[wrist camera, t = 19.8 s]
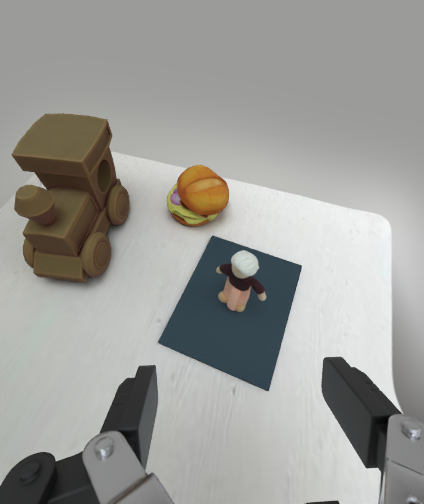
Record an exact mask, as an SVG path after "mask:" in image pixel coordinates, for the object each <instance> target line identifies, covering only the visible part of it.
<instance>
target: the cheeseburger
mask: <svg viewBox="0 0 424 504" xmlns="http://www.w3.org/2000/svg"><path fill="white" fill-rule="evenodd" d="M228 199H229V189H228V186H227V183H226V182H225V181H224V180H223V179H222V178H221V177H219V176H218V175H217V174H216V173H214V172H213V171H212V170H211V169H209V168H208V167H205V166H202V165H196V166H192V167H190V168H188V169H186V170H185V171H184V172H183V173H182V174H181V175H180V176H179V178H178V181H177V184H175V185H174V187H173V188H172V189H171V191H170V193H169V194H168V196H167V205H168V208H169V210H170V212H171V213H172V215H173V216H174V218H175V219H176V220H178V221H179V222H180V223H182V224H185V225H189V226H199V225H203V224H205V223H207V222H209V221H211V220H213V219H214V218H215V217H216V216H217V215H218V213H219V212H221V211H223V209H224V208H225V207H226V206H227V204H228Z"/></svg>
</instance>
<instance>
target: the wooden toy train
mask: <svg viewBox="0 0 424 504" xmlns="http://www.w3.org/2000/svg"><path fill="white" fill-rule="evenodd" d="M111 138H112V133H111V130H110V127H109V124H108V121H107V120H106V119H101V118H97V117H91V116H84V115H73V114H45V115H44V116H42V117H41V118H40V119H39V120H38V121H36V122H35V123H34V124H33V125H32V127H31V128H30V129H29V130H28V131H27V133H26V134H25V135H24V136H23V137H22V138H21V140H20V141H19V143H18V144H17V146H16V148H15V150H14V151H13V153H12V156H13V158H14V159H15V160H16V162H17V163H18V164H19V166H20V167H21V169H22V170H23V171H29V172H35V174H36V175H37V177H38V178H39V179H40V181H41V182H42V184H43V185H44V186H45V187H46V189H47V190H46V189H43V188H40V187H37V186H34V185H25V186H23V187H21V188H19V190H18V191H17V192H16V198H15V208H14V209H15V211H16V212H17V213H18V215H20V216H23V217H26V218H28V219H29V221H28V223H27V225H26V227H25V229H24V231H23V233H22V234H23V235H24V237H25V238H26V239H25V241H24V245H23V255H24V258H25V261H26V262H27V264H28V265H29V266H30V267H32V268H34V274H35V275H37V276H38V277H46V278H53V279H61V280H69V281H76V282H84V283H85V281H86V279H87V277H88V275H89V276H91V277H97V276H99V275H101V274H102V273H103V272H104V271H105V270H106V268H107V266H108V264H109V261H110V256H111V246H110V242H109V239H108V238H107V236H106V232H107V230H108V228H109V226H110V223H113V224H115V225H120V224H122V223H123V222H124V221H125V220H126V218H127V216H128V213H129V195H128V192H127V190H126V189H125V188H124V187H123V186H122V185H121V182H120V180H119V179H116V172H115V167H114V162H113V158H112V155H111V151H110V148H109V145H110V141H111Z"/></svg>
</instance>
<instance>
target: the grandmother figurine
mask: <svg viewBox="0 0 424 504" xmlns="http://www.w3.org/2000/svg"><path fill="white" fill-rule="evenodd" d="M231 263H232V264H222V265H220V266H219V267H217V269H216V271H217V273H219V274H221V273H224V274H225V275H227V276H228V277H227V280H226V284H225V287H224V290H223V291H221V292H220V293H219V294H218V298H219V300H220V301H221V302H223V303H227V306H228V308H229V309H230V310H233V311H234V310H235V311H237V312H242V311H243V310H244V309H245V306H246V303H247V300H248V298H249V295H250V289H251V286H252V288H253V290H254V291H255V292H256V293H257V295H258V297H259V299H260V300H261V301H264V300H265V299H266V295H265V288H264V286H263V285H262V284H261V283H260V282H259V281H258V280H257V279H256V278H254V277H253V276H252V275H254V274H255V273H256V272H257V270H258V269H259V265H258V260H257V258H256V257H255V256H254V255H253V254H252V253H250V252H248V251H245V250H242V251H239V252H237V253H236V254H234V255H233V257H232V259H231Z"/></svg>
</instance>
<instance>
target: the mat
mask: <svg viewBox="0 0 424 504" xmlns="http://www.w3.org/2000/svg"><path fill="white" fill-rule="evenodd" d="M242 250H245V251H248V252H250V253H252V254H253V255H254V256H255V257H256V258H257V260H258V265H259V269H258V270H257V272H256V273H255V274H254V275H252V276H253V277H254V278H256V279H257V280H258V281H259V282H260V283H261V284H262V285H263V286H264V288H265V295H266V299H265V300H264V301H261V300H260V299H259V297H258V295H257V293H256V292H255V291H254V290H253V288H252V286H251V289H250V295H249V298H248V300H247V303H246V306H245V309H244V310H243V311H242V312H237V311H235V310H234V311H233V310H230V309H229V308H228V306H227V303H223V302H221V301H220V300H219V298H218V294H219V293H220V292H221V291H223V290H224V287H225V284H226V280H227V277H228V276H227V275H225V274H224V273H221V274H219V273H217V271H216V269H217V267H219V266H220V265H222V264H232V263H231V259H232V257H233V255H234V254H236V253H237V252H239V251H242ZM301 268H302V266H301V265H298V264H295V263H292V262H289V261H286V260H283V259H280V258H277V257H274V256H272V255H269V254H266V253H263V252H260V251H257V250H254V249H251V248H248V247H245V246H242V245H239V244H236V243H233V242H230V241H227V240H224V239H221V238H218V237H215V236H212V237H211V239H210V241H209V243H208V245H207V247H206V249H205V251H204V253H203V255H202V257H201V259H200V261H199V263H198V265H197V267H196V269H195V271H194V273H193V275H192V277H191V279H190V280H189V282H188V284H187V286H186V288H185V290H184V292H183V294H182V296H181V298H180V300H179V302H178V304H177V306H176V308H175V310H174V312H173V314H172V316H171V318H170V320H169V322H168V324H167V326H166V328H165V330H164V332H163V334H162V336H161V338H160V339H159V341H158V342H159V343H160V344H162V345H164V346H166V347H169V348H171V349H173V350H176V351H178V352H180V353H182V354H185V355H187V356H189V357H191V358H194V359H196V360H198V361H201V362H203V363H205V364H207V365H210V366H212V367H214V368H216V369H219V370H221V371H223V372H226V373H228V374H230V375H232V376H235V377H237V378H239V379H242V380H244V381H246V382H248V383H251V384H253V385H255V386H257V387H260V388H262V389H264V390H267V391H269V388H270V384H271V380H272V376H273V373H274V369H275V365H276V361H277V358H278V354H279V350H280V347H281V343H282V339H283V335H284V332H285V328H286V324H287V320H288V317H289V313H290V309H291V305H292V302H293V298H294V294H295V290H296V287H297V283H298V279H299V275H300V272H301Z"/></svg>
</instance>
